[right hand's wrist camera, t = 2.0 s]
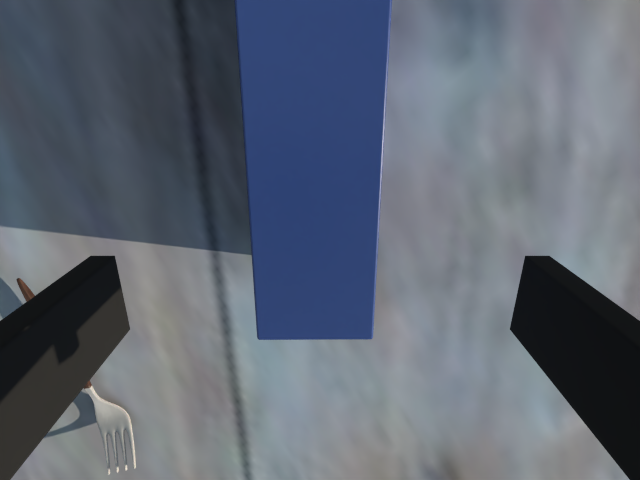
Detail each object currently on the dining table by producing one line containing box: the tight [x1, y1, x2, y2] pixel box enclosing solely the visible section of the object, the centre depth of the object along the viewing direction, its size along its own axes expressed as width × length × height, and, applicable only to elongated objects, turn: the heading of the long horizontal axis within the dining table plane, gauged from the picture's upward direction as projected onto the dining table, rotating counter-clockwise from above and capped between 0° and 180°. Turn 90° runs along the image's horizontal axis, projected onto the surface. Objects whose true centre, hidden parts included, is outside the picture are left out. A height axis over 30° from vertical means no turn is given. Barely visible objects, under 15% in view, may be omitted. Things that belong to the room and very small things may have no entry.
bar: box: [235, 0, 392, 340], centre depth 17 cm, size 25×5×9 cm, turn 0°
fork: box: [17, 278, 136, 475], centre depth 27 cm, size 3×16×2 cm, turn 16°
